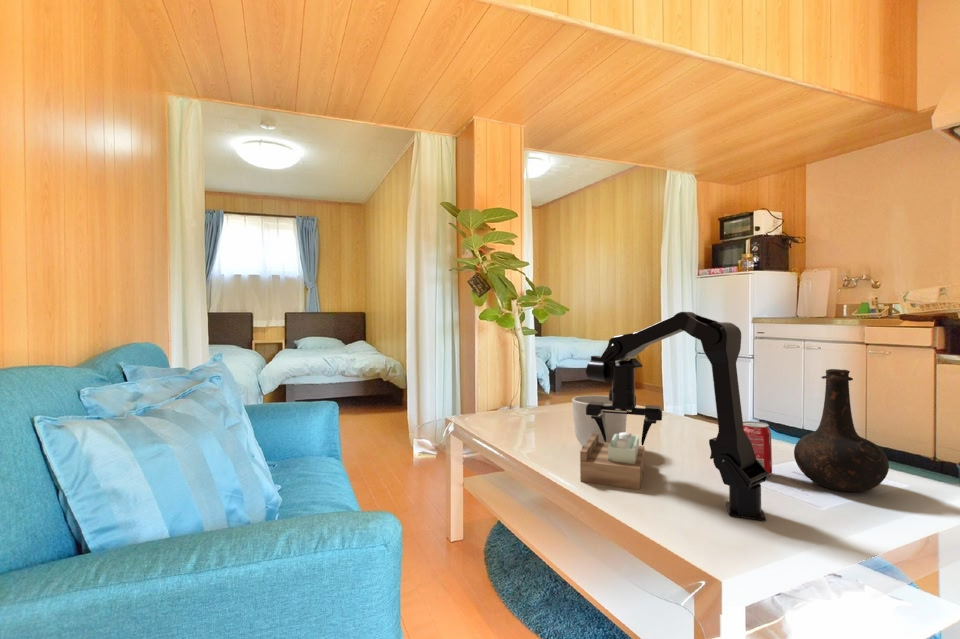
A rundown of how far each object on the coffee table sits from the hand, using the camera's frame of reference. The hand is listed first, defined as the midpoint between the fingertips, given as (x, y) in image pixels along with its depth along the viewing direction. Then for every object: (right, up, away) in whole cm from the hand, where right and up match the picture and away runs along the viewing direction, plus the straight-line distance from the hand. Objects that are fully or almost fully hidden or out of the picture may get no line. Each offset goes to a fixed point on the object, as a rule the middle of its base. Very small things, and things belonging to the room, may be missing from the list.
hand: (623, 443), depth 116 cm
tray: (0, -3, 0) cm, 3 cm away
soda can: (+34, -8, -1) cm, 35 cm away
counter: (-2, -8, +1) cm, 8 cm away
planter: (0, -8, +24) cm, 25 cm away
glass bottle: (+49, -8, -9) cm, 50 cm away
